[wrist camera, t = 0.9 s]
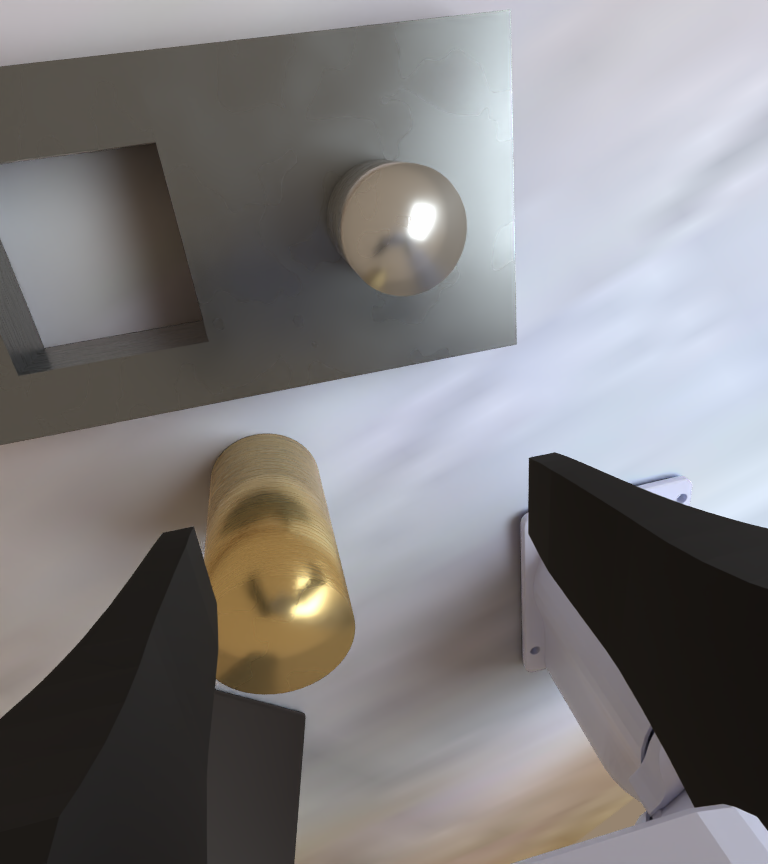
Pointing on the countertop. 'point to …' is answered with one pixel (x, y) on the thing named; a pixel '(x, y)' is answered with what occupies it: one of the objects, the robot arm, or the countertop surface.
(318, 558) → the cylinder
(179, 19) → the countertop surface
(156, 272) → the countertop surface
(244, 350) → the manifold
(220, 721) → the phone stand
